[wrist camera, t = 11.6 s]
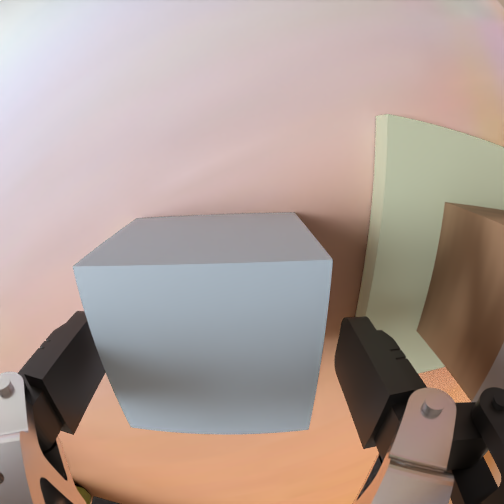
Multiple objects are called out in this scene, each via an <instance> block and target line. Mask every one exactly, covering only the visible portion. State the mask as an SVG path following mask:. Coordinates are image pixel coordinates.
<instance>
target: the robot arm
mask: <svg viewBox="0 0 504 504" xmlns="http://www.w3.org/2000/svg"><path fill="white" fill-rule="evenodd" d="M335 371H336V375H337V377H338V380H339V383H340V385H341V388H342V391H343V393H344V396H345V399H346V401H347V404H348V407H349V410H350V412H351V415H352V418H353V421H354V424H355V426H356V429H357V432H358V435H359V438H360V441H361V443H362V446H363V449H366V448H370V447H375V446H377V449H378V451H379V454H378V455H377V457H376V459H375V461H374V463H373V465H372V467H371V469H370V471H369V473H368V475H367V477H366V479H365V481H364V483H363V485H362V487H361V489H360V491H359V493H358V494H357V496H356V498H355V500H354V502H353V503H352V504H448V503H449V499H450V498H451V500H452V503H453V504H504V389H501V388H497V387H491V388H487V389H485V390H484V391H483V392H482V393H481V395H480V397H479V398H478V400H477V402H468V403H455V402H454V400H453V399H452V398H451V397H450V396H449V395H448V394H447V393H445V392H444V391H441V390H439V389H436V388H427V387H426V385H425V384H424V382H423V381H422V379H421V378H420V376H419V375H418V373H417V372H416V370H415V369H414V367H413V366H412V364H411V363H410V361H409V360H408V359H406V356H405V354H404V353H403V351H402V350H400V347H399V346H398V344H397V343H396V341H395V340H394V339H393V338H392V337H391V336H389V335H388V334H387V333H385V332H384V331H382V330H376V328H375V327H374V325H373V324H372V322H371V321H370V319H369V318H368V317H367V316H362V317H346V318H344V319H343V321H342V324H341V329H340V334H339V339H338V344H337V349H336V353H335ZM104 374H105V369H104V367H103V364H102V361H101V359H100V356H99V353H98V351H97V348H96V345H95V342H94V339H93V337H92V334H91V331H90V328H89V324H88V321H87V318H86V315H85V312H84V311H77V312H76V313H75V314H74V315H73V316H72V317H71V318H70V319H69V320H68V321H67V323H65V324H64V325H62V326H60V327H59V328H57V329H56V330H54V331H53V332H52V333H51V334H50V336H49V337H48V338H47V339H46V341H44V343H43V344H42V345H41V346H40V348H38V349H37V351H36V352H35V353H34V354H33V355H32V357H31V358H30V359H29V360H28V361H27V363H26V364H25V365H24V366H23V368H22V369H21V370H20V371H19V373H15V372H5V373H1V374H0V504H86V502H85V500H84V499H83V497H82V496H81V495H80V493H79V492H78V490H77V488H76V486H75V484H74V481H73V478H72V476H71V473H70V470H69V467H68V464H67V461H66V457H65V454H64V451H63V447H62V444H61V441H60V439H59V437H58V434H59V432H60V430H61V431H64V432H67V433H70V434H73V435H74V433H75V431H76V429H77V427H78V425H79V423H80V421H81V419H82V417H83V415H84V413H85V411H86V409H87V407H88V405H89V403H90V401H91V399H92V397H93V395H94V393H95V391H96V389H97V387H98V385H99V384H100V382H101V380H102V378H103V376H104ZM488 450H489V451H490V453H491V455H492V457H493V459H494V461H495V463H496V464H497V467H498V469H499V471H500V473H501V483H500V486H499V487H498V486H497V484H496V482H495V480H494V478H493V476H492V474H491V472H490V469H489V467H488V465H487V463H486V461H485V459H484V457H483V456H484V455H485V453H486V452H487V451H488ZM92 504H120V503H116V502H112V501H109V500H105V499H102V498H99V497H95V496H94V497H93V501H92Z"/></svg>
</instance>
